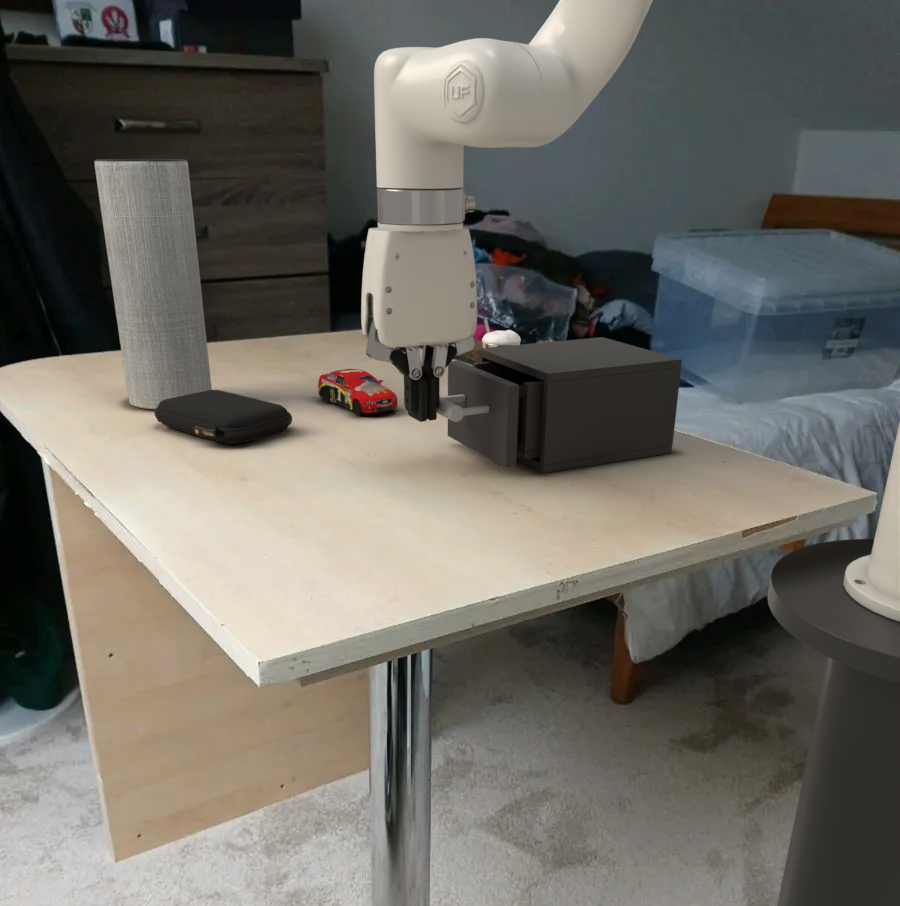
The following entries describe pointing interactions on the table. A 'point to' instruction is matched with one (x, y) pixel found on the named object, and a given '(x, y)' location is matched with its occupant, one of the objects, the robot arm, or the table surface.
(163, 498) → the table surface
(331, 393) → the race car
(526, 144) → the robot arm
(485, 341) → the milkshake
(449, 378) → the drawer
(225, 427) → the carrying case
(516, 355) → the cabinet
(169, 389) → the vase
